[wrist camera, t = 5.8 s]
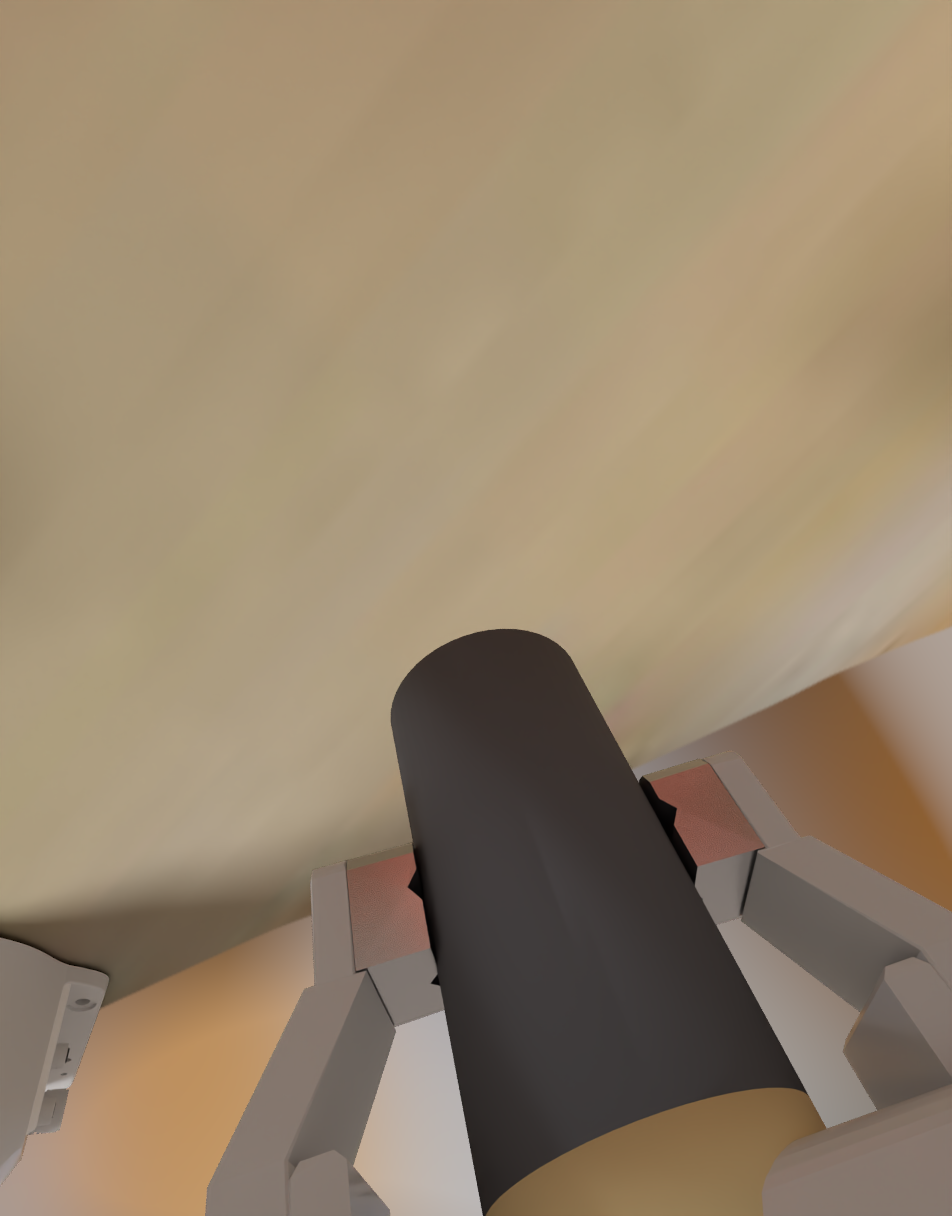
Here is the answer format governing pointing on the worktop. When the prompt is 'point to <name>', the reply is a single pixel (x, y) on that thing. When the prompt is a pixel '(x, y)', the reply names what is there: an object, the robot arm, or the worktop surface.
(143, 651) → the worktop surface
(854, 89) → the worktop surface
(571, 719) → the cylinder
